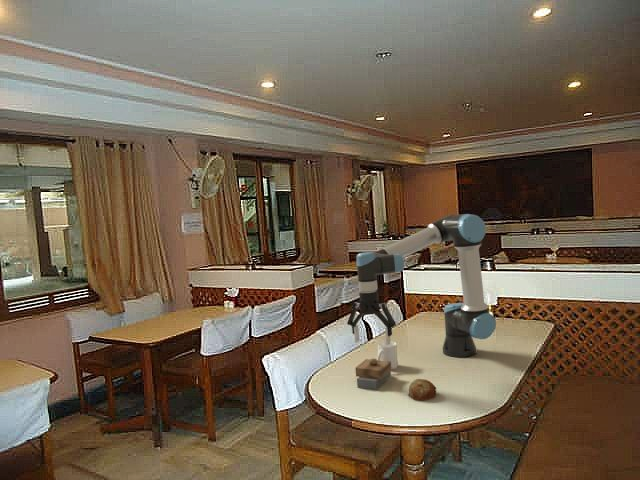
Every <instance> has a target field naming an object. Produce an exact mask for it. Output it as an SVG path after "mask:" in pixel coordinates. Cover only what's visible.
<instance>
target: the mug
mask: <svg viewBox="0 0 640 480" xmlns="http://www.w3.org/2000/svg"><path fill="white" fill-rule="evenodd" d="M390 342H391V343H390V344H389V345H386V341H381V342H378V344H377V358H376V359H377V360H380V361H390V362H391V371H392V370H395V369H397V368H398V367H399V363H398V362H399V360H398V345H397V343H396V342H395V341H390Z"/></svg>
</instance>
